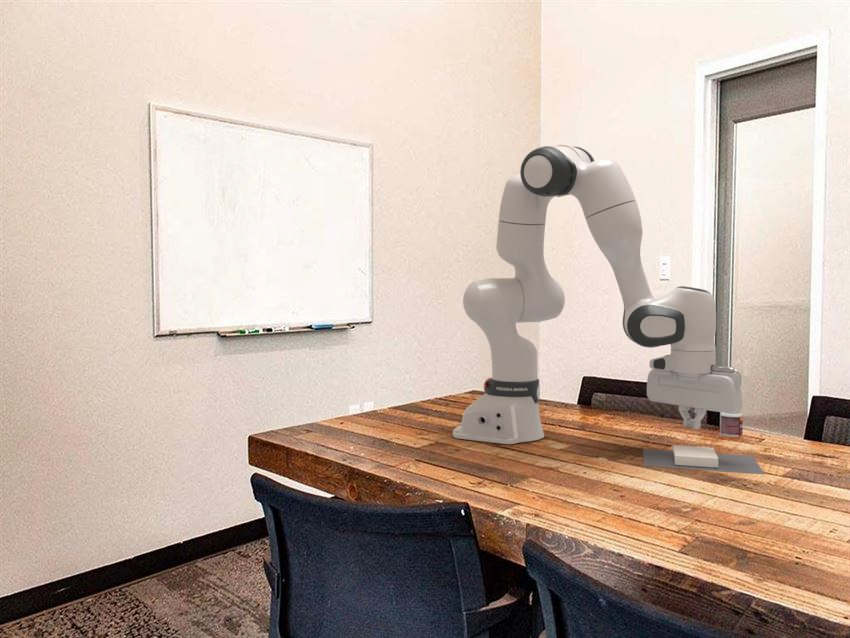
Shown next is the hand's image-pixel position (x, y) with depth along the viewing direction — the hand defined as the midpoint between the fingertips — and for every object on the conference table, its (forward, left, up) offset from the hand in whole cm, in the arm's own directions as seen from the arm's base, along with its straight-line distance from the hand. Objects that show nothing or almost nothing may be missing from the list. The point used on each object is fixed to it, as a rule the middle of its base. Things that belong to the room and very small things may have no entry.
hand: (692, 427), depth 137 cm
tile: (0, 0, -5) cm, 5 cm away
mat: (+1, -4, -7) cm, 8 cm away
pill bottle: (+10, +20, -7) cm, 23 cm away
